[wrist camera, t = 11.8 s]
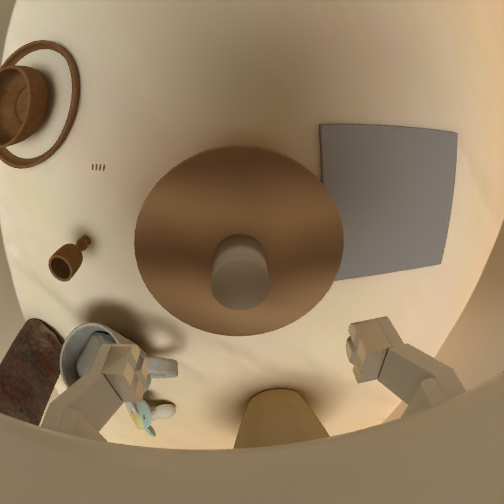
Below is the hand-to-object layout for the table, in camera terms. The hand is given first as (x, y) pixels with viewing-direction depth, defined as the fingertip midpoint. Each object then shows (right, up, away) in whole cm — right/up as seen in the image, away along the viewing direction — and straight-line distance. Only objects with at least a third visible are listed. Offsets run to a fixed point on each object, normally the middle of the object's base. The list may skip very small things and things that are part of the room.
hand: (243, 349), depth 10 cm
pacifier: (-16, -17, +26) cm, 35 cm away
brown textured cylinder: (-26, -8, +19) cm, 34 cm away
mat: (+13, +8, +13) cm, 20 cm away
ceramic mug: (-13, -5, +19) cm, 23 cm away
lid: (-1, +4, +9) cm, 9 cm away
